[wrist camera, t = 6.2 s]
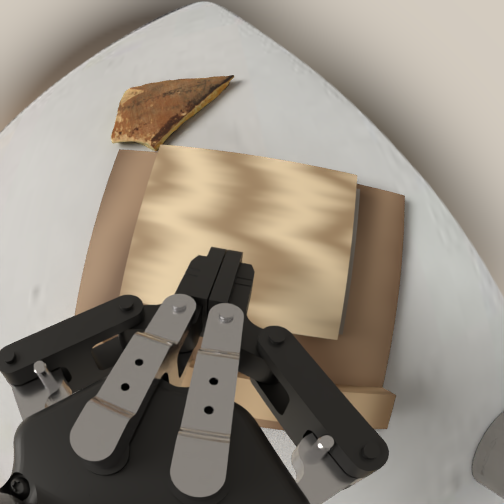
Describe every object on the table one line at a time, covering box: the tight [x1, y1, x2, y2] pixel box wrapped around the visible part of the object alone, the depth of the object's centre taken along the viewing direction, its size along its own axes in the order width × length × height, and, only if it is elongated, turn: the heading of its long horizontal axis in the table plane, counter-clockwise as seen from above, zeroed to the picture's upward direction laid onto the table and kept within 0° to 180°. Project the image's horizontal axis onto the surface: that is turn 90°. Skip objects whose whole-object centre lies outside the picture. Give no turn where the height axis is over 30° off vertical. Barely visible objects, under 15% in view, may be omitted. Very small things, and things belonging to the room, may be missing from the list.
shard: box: [111, 75, 234, 151], centre depth 25 cm, size 11×8×2 cm
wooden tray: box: [75, 149, 405, 430], centre depth 21 cm, size 24×19×4 cm
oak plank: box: [120, 145, 357, 340], centre depth 21 cm, size 14×2×11 cm
